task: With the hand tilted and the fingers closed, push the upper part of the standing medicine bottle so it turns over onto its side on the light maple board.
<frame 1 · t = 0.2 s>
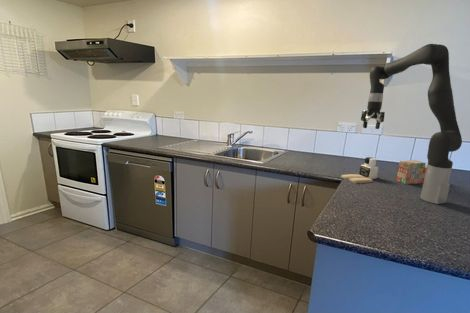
hand: (371, 128, 164), 29 cm above the worktop, tool pointing down, fingers open, 8 cm apart
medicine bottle: (367, 177, 164), on the worktop
maple board: (356, 179, 158), on the worktop
stack of blocks: (414, 181, 159), on the worktop
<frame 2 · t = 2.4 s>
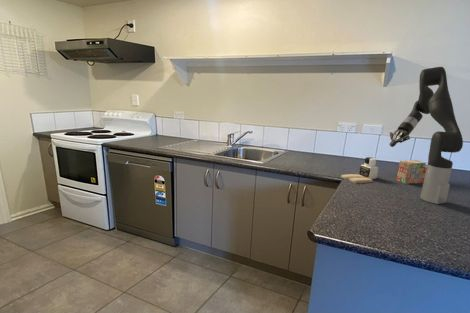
hand: (391, 145, 166), 19 cm above the worktop, tool tilted 45°, fingers closed
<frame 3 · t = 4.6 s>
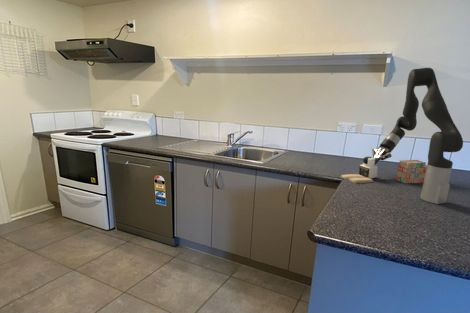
hand: (372, 163, 163), 8 cm above the worktop, tool tilted 45°, fingers closed
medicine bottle: (367, 176, 164), on the worktop, touching gripper
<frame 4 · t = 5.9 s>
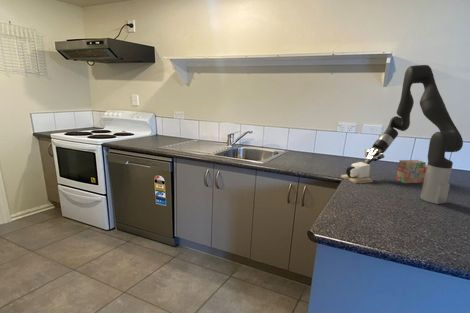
hand: (365, 164, 160), 8 cm above the worktop, tool tilted 45°, fingers closed
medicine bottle: (365, 168, 160), point 6 cm above the worktop, touching gripper, maple board
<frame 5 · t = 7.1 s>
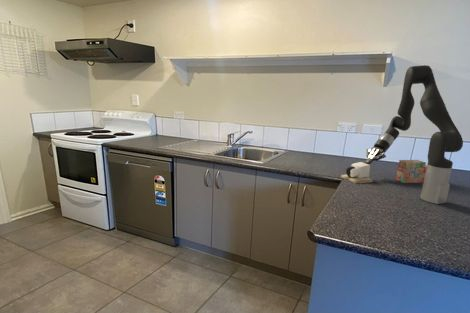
hand: (366, 163, 161), 8 cm above the worktop, tool tilted 45°, fingers closed
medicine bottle: (365, 168, 160), point 6 cm above the worktop, touching maple board
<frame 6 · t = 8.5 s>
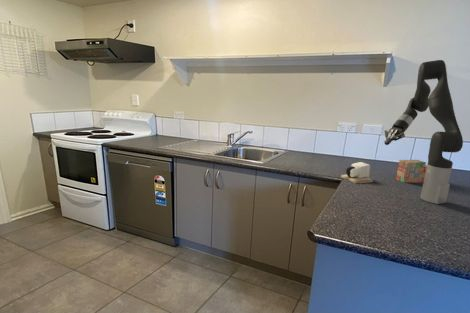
hand: (386, 143, 162), 20 cm above the worktop, tool tilted 45°, fingers closed
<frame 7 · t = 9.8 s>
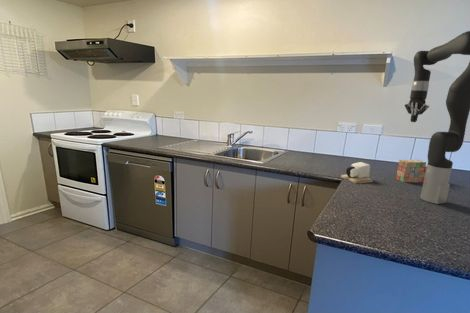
hand: (413, 121, 150), 35 cm above the worktop, tool pointing down, fingers closed
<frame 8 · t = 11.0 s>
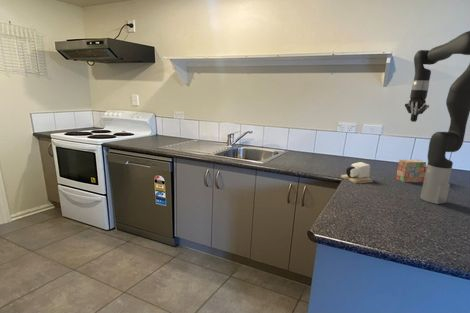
hand: (413, 121, 150), 35 cm above the worktop, tool pointing down, fingers closed
at the end: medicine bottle tilted 97°; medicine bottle inside the target area (5.9 cm from its centre), point 5.6 cm above the worktop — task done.
